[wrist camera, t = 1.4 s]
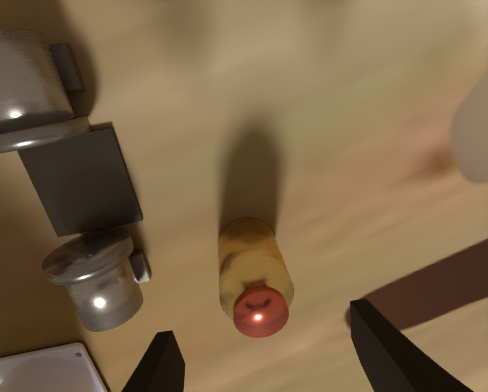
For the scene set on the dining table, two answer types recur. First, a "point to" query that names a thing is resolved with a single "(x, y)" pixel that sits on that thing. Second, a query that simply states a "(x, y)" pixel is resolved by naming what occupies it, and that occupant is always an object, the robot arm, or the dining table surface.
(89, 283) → the grey metal fittings
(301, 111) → the dining table surface
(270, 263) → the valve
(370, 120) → the dining table surface
